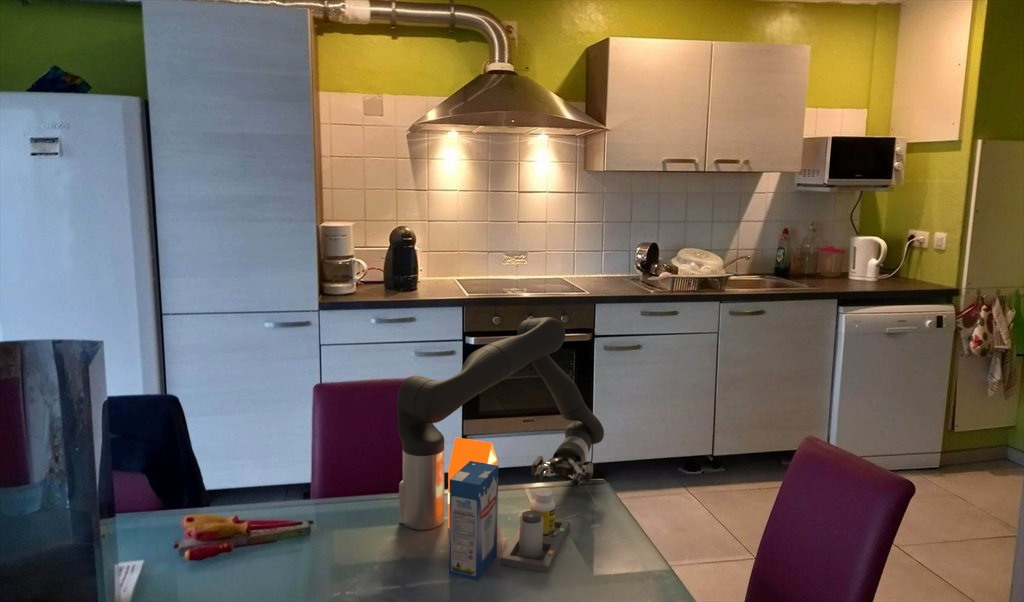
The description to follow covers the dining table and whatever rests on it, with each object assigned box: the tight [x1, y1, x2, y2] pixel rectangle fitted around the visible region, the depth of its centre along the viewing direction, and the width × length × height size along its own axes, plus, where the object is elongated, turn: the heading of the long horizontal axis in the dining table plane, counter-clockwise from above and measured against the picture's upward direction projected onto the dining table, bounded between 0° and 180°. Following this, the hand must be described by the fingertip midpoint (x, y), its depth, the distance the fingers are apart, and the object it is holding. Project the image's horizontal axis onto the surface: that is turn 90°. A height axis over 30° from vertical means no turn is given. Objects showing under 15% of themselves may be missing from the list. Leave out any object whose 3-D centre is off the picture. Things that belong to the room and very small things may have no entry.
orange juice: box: [447, 437, 498, 529], centre depth 166 cm, size 8×9×20 cm
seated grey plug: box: [518, 510, 543, 561], centre depth 154 cm, size 5×5×9 cm
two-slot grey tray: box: [499, 517, 571, 574], centre depth 159 cm, size 10×20×2 cm, turn 163°
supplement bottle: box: [530, 487, 556, 537], centre depth 163 cm, size 5×5×10 cm
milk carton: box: [448, 461, 499, 582], centre depth 149 cm, size 10×6×20 cm, turn 160°
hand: (555, 481), depth 173 cm, fingers open, 8 cm apart
